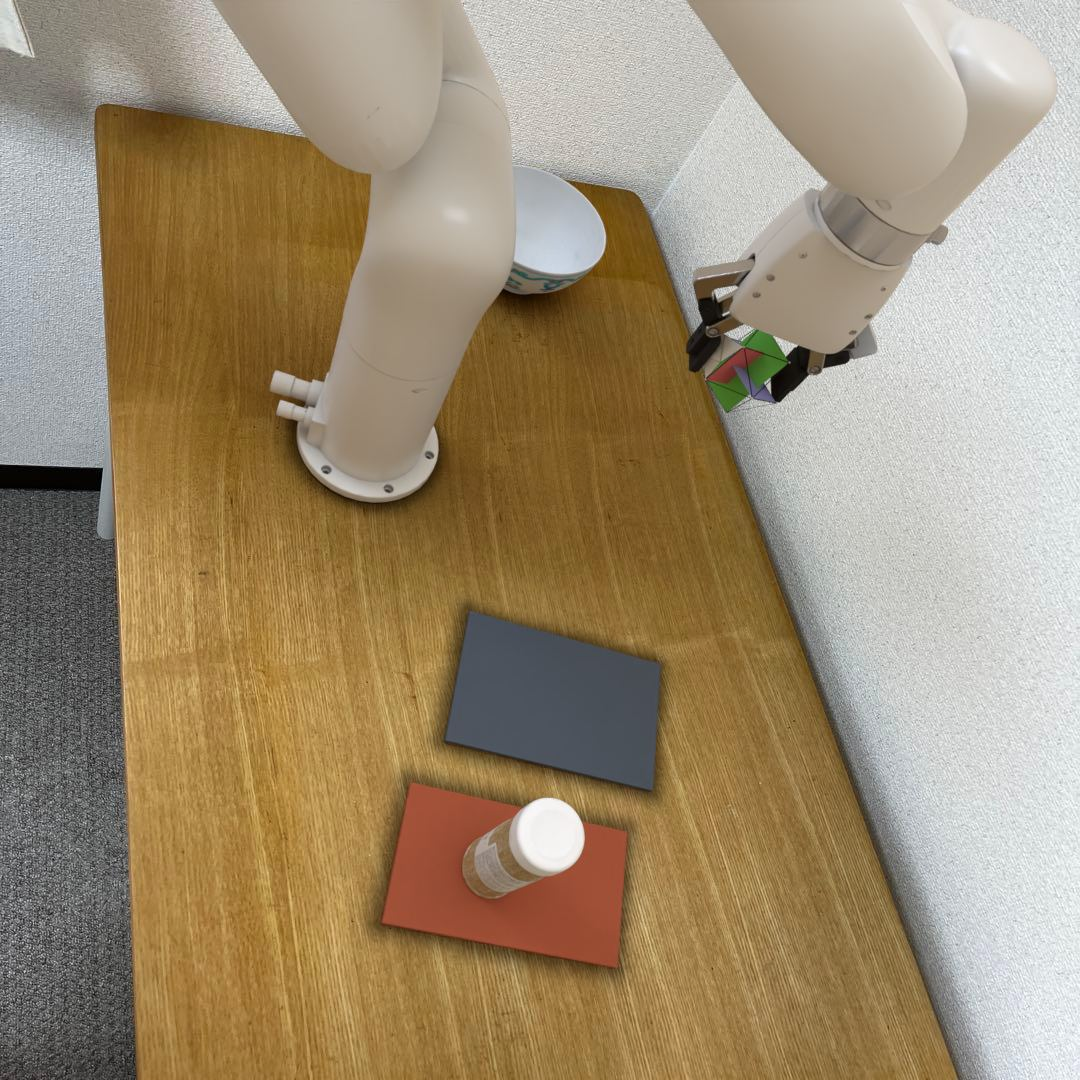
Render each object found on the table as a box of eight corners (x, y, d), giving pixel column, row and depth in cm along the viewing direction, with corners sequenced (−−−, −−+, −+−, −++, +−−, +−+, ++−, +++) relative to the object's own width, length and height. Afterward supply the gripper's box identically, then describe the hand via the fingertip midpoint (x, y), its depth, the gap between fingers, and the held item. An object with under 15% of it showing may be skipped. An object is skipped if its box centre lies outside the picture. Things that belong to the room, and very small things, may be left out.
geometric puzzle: (764, 337, 79) (764, 290, 71) (803, 400, 76) (807, 359, 69) (690, 376, 79) (682, 334, 72) (726, 439, 77) (723, 402, 70)
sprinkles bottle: (503, 826, 69) (568, 785, 58) (527, 885, 67) (599, 853, 56) (449, 850, 66) (506, 812, 55) (474, 911, 65) (537, 884, 54)
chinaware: (422, 235, 96) (440, 177, 90) (529, 208, 104) (552, 154, 97) (499, 340, 93) (523, 289, 86) (603, 305, 101) (632, 255, 94)
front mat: (380, 924, 63) (382, 923, 62) (409, 783, 68) (411, 781, 68) (614, 968, 67) (617, 967, 67) (624, 833, 72) (627, 831, 72)
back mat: (443, 742, 71) (445, 740, 70) (468, 613, 77) (470, 610, 76) (650, 792, 75) (653, 790, 74) (657, 666, 81) (660, 663, 80)
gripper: (969, 223, 65) (819, 373, 79) (760, 130, 60) (641, 307, 75) (985, 296, 61) (824, 440, 75) (763, 203, 56) (637, 375, 71)
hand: (734, 373), depth 75 cm, fingers closed on geometric puzzle, 7 cm apart
